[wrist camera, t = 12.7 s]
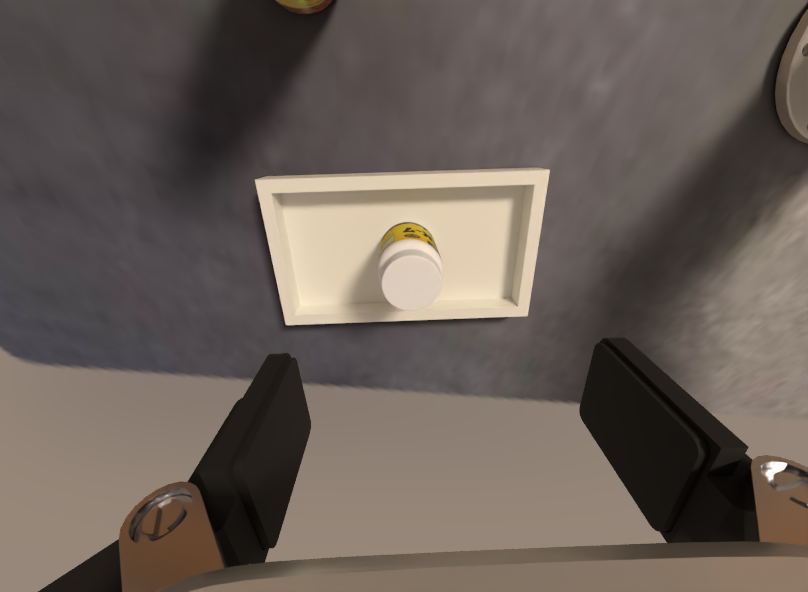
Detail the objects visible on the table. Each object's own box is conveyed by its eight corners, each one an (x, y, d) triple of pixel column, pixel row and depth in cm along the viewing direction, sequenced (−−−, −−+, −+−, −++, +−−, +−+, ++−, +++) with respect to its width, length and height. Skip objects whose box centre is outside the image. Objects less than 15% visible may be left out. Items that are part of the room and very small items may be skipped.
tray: (536, 167, 27) (549, 169, 25) (518, 303, 32) (527, 316, 30) (266, 176, 27) (254, 179, 24) (293, 312, 32) (285, 325, 30)
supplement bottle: (445, 240, 29) (463, 276, 21) (414, 281, 30) (420, 329, 23) (400, 208, 27) (402, 235, 20) (370, 254, 29) (361, 294, 21)
